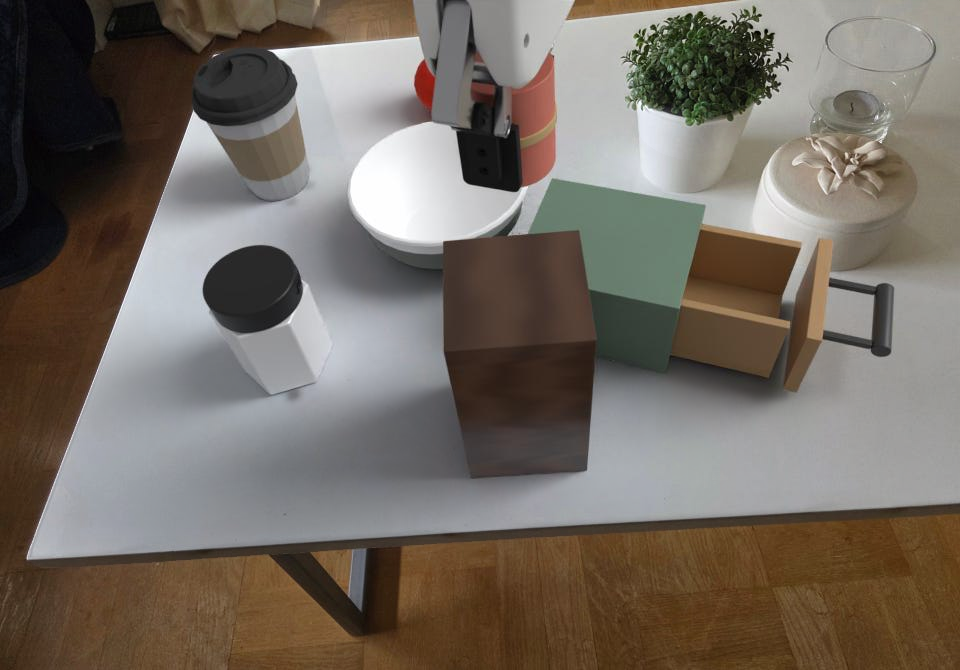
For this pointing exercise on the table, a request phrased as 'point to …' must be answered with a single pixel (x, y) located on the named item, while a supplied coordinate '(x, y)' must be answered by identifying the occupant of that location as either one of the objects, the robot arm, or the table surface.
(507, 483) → the table surface
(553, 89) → the red cylinder
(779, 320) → the drawer
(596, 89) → the table surface
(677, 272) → the cabinet
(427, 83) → the apple
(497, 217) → the bowl
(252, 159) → the coffee cup
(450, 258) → the block
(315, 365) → the jar
